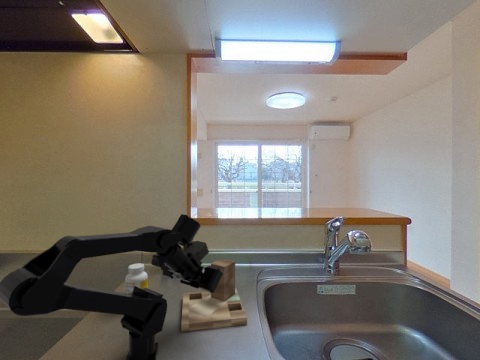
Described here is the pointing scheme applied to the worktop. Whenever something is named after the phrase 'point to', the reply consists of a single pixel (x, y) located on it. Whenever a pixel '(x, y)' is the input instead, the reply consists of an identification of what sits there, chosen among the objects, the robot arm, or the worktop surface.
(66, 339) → the worktop surface
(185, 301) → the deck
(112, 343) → the worktop surface
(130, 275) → the supplement bottle
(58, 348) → the worktop surface
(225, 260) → the walnut box
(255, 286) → the worktop surface
